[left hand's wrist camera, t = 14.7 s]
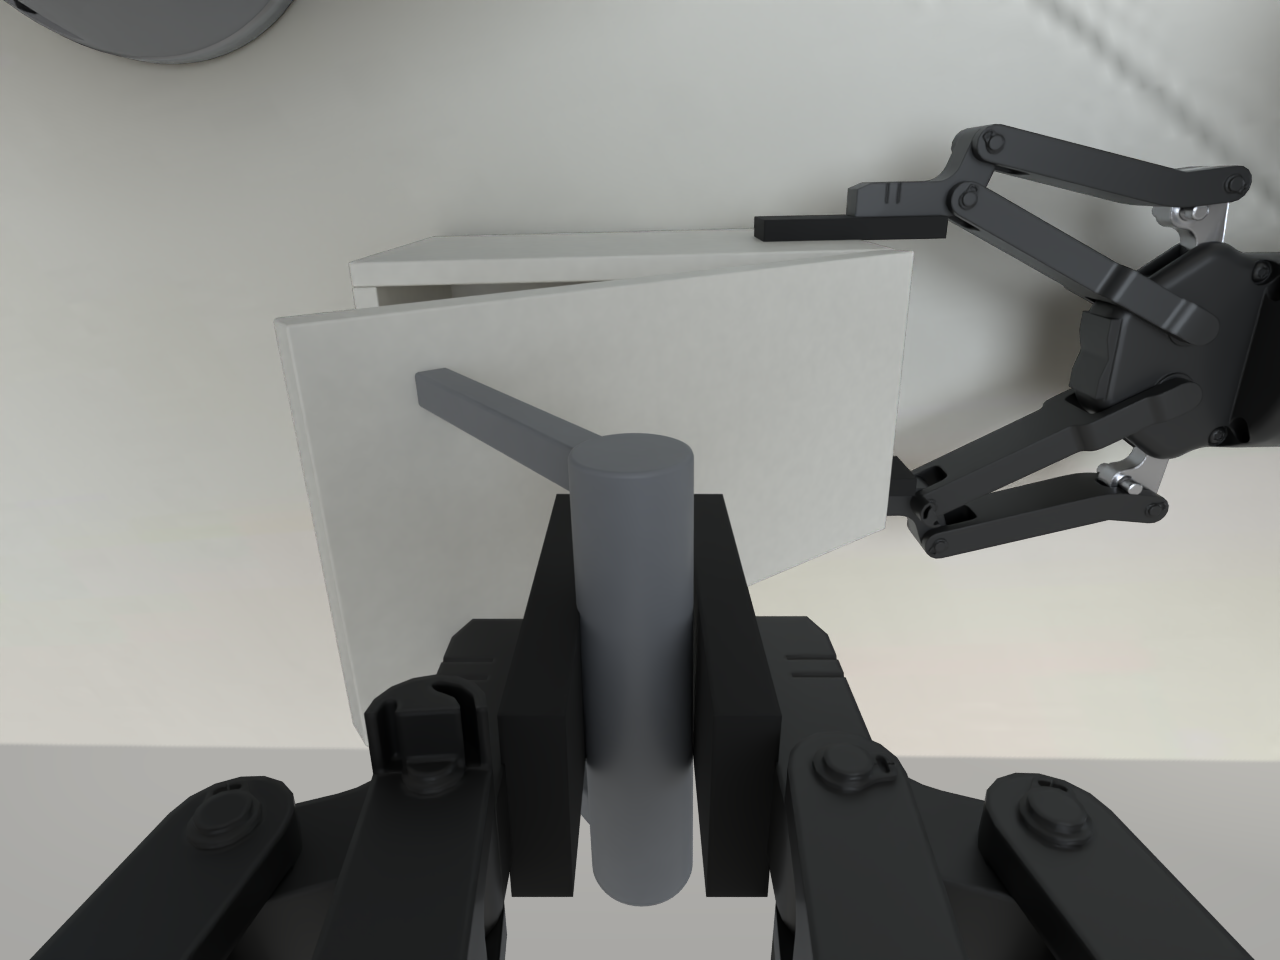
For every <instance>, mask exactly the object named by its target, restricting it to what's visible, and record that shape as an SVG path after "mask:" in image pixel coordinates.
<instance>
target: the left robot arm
mask: <svg viewBox="0 0 1280 960" xmlns="http://www.w3.org/2000/svg"><path fill="white" fill-rule="evenodd" d="M4 1H6V2H7V3H8V4H10V5H11V6H13V7H14V8H15V9H17V10H18V11H20V12H21V13H22V14H24V15H26V16H27V17H29V18H30V19H32V20H34V21H35V22H37V23H39V24H41V25H42V26H44V27H46V28H48V29H50V30H52V31H54V32H56V33H58V34H60V35H62V36H64V37H66V38H68V39H70V40H72V41H75V42H77V43H79V44H81V45H84V46H87V47H90V48H92V49H95V50H98V51H101V52H105V53H109V54H113V55H117V56H121V57H126V58H130V59H134V60H138V61H145V62H152V63H162V64H181V63H193V62H198V61H204V60H209V59H212V58H215V57H218V56H221V55H224V54H227V53H229V52H231V51H234V50H236V49H238V48H240V47H242V46H244V45H245V44H247V43H249V42H250V41H252V40H253V39H255V38H256V37H258V36H259V35H260V34H261V33H263V32H264V31H265V30H266V29H268V28H269V27H270V26H271V25H272V24H273V23H274V22H275V21H276V20H277V19H278V18H279V17H280V16H281V15H282V14H283V12H284V11H285V10H286V9H287V7H288V6H289V5H290V3H291V2H292V1H293V0H4ZM364 718H365V725H366V731H367V737H368V744H369V750H370V756H371V762H372V769H373V777H372V780H371V781H369V782H367V783H365V784H363V785H361V786H359V787H357V788H354V789H351V790H348V791H345V792H342V793H338V794H335V795H330V796H326V797H322V798H318V799H313V800H309V801H305V802H301V803H297V804H295V801H294V796H293V793H292V792H291V791H290V790H289V788H288V787H287V786H286V785H285V784H284V783H283V782H282V781H279V780H275V779H272V778H269V777H266V776H250V777H238V778H235V779H231V780H227V781H224V782H220V783H216V784H214V785H212V786H210V787H208V788H206V789H204V790H202V791H200V792H198V793H196V794H194V795H192V796H190V797H189V798H187V799H186V800H185V801H184V802H183V803H181V804H180V805H179V806H178V807H176V808H175V809H174V810H173V811H172V812H170V813H169V814H168V815H167V816H166V817H165V818H164V819H163V820H162V822H161V823H159V825H158V826H157V827H156V828H155V829H154V830H153V831H152V832H151V833H150V834H149V835H148V836H147V837H146V838H145V839H144V840H143V841H142V842H141V843H140V844H139V846H138V847H137V848H136V849H135V850H134V851H133V852H132V853H131V854H130V855H129V856H128V857H127V858H126V859H125V860H124V861H123V862H122V863H121V864H120V865H119V866H118V868H117V869H116V870H115V871H114V872H113V873H112V874H111V875H110V876H109V877H108V878H107V879H106V880H105V881H104V882H103V883H102V884H101V885H100V886H99V888H98V889H97V890H96V891H95V892H94V893H93V894H92V895H91V896H90V897H89V898H88V899H87V900H86V901H85V902H84V903H83V904H82V905H81V906H80V907H79V908H78V910H77V911H76V912H75V913H74V914H73V915H72V916H71V917H70V918H69V919H68V920H67V921H66V922H65V923H64V924H63V925H62V926H61V927H60V928H59V929H58V930H57V932H56V933H55V934H54V935H53V936H52V937H51V938H50V939H49V940H48V941H47V942H46V943H45V944H44V945H43V946H42V947H41V948H40V949H39V950H38V951H37V952H36V954H35V955H34V956H33V957H32V958H31V959H30V960H505V952H506V940H507V930H506V918H505V907H504V899H505V894H506V888H507V883H508V878H509V872H510V881H511V893H512V897H573V891H574V880H575V869H576V858H577V848H578V837H579V826H580V816H581V805H582V794H583V783H584V773H585V762H586V751H585V731H584V709H583V685H582V661H581V637H580V613H579V611H578V609H577V605H576V589H575V573H574V556H573V540H572V524H571V507H570V494H556V498H555V502H554V505H553V509H552V513H551V517H550V520H549V524H548V528H547V531H546V535H545V539H544V543H543V546H542V550H541V554H540V558H539V561H538V565H537V569H536V572H535V576H534V580H533V584H532V587H531V591H530V595H529V599H528V602H527V606H526V610H525V613H524V617H523V619H472V620H471V621H469V622H468V623H467V624H466V625H465V626H464V627H463V628H461V629H460V630H459V631H458V632H457V633H456V634H455V635H453V636H452V638H451V640H450V642H449V645H448V647H447V650H446V652H445V654H444V657H443V662H441V664H440V666H439V669H438V671H437V674H435V675H429V676H422V677H416V678H412V679H409V680H407V681H404V682H401V683H399V684H396V685H394V686H391V687H390V688H389V689H387V690H386V691H384V692H383V693H382V694H380V695H379V696H377V697H376V698H375V699H374V700H373V701H372V703H371V704H370V705H369V707H368V708H367V710H366V711H365V713H364ZM693 759H694V770H695V780H696V791H697V802H698V813H699V824H700V834H701V845H702V856H703V867H704V877H705V888H706V897H767V896H768V884H769V871H770V873H771V878H772V883H773V889H774V894H775V899H776V907H775V918H774V930H773V941H772V953H771V960H1254V959H1253V958H1252V957H1251V956H1250V955H1249V954H1248V952H1247V951H1246V950H1245V949H1244V948H1243V947H1242V946H1241V945H1240V944H1239V943H1238V942H1237V941H1236V940H1235V939H1234V938H1233V937H1232V936H1231V935H1230V934H1229V933H1228V932H1227V931H1226V930H1225V929H1224V927H1223V926H1222V925H1221V924H1220V923H1219V922H1218V921H1217V920H1216V919H1215V918H1214V917H1213V916H1212V915H1211V914H1210V913H1209V912H1208V911H1207V910H1206V909H1205V908H1204V907H1203V906H1202V905H1201V903H1199V901H1198V900H1197V899H1196V898H1195V897H1194V896H1193V895H1192V894H1191V893H1190V892H1189V891H1188V890H1187V889H1186V888H1185V887H1184V886H1183V885H1182V884H1181V883H1180V882H1179V881H1178V880H1177V878H1176V877H1175V876H1174V875H1173V874H1172V873H1171V872H1170V871H1169V870H1168V869H1167V868H1166V867H1165V866H1164V865H1163V864H1162V863H1161V862H1160V861H1159V860H1158V859H1157V858H1156V857H1155V856H1154V855H1153V853H1152V852H1151V851H1150V850H1149V849H1148V848H1147V847H1146V846H1145V845H1144V844H1143V843H1142V842H1141V841H1140V840H1139V839H1138V838H1137V837H1136V836H1135V835H1134V834H1133V833H1132V832H1131V831H1130V830H1129V829H1128V827H1127V826H1126V825H1125V824H1124V823H1123V822H1122V821H1121V820H1120V819H1119V818H1118V817H1117V816H1116V815H1115V814H1114V813H1113V812H1112V811H1111V810H1110V809H1109V808H1108V807H1106V806H1105V805H1104V804H1103V803H1101V802H1100V801H1099V800H1098V799H1096V798H1095V797H1094V796H1093V795H1092V794H1090V793H1088V792H1086V791H1085V790H1082V789H1080V788H1079V787H1076V786H1075V785H1073V784H1071V783H1069V782H1067V781H1065V780H1061V779H1057V778H1053V777H1050V776H1046V775H1042V774H1037V773H1013V774H1010V775H1007V776H1004V777H1001V778H998V779H996V781H995V782H994V783H993V784H992V785H991V786H990V787H989V788H988V789H987V792H986V797H985V801H983V800H979V799H975V798H970V797H966V796H962V795H958V794H953V793H949V792H945V791H941V790H938V789H935V788H932V787H928V786H925V785H922V784H920V783H918V782H916V781H914V780H912V779H910V778H908V776H907V773H906V771H905V770H904V768H903V767H902V765H901V763H900V761H899V760H898V758H897V757H896V756H895V755H893V754H892V753H891V752H890V751H888V750H887V749H886V748H885V747H883V746H882V745H881V744H879V743H877V742H874V741H872V739H871V737H870V735H869V732H868V730H867V727H866V725H865V723H864V720H863V718H862V715H861V713H860V711H859V708H858V706H857V704H856V701H855V699H854V696H853V694H852V692H851V689H850V687H849V684H848V682H847V680H846V677H844V672H843V670H842V668H841V665H840V663H839V660H837V658H836V653H835V651H834V648H833V646H832V644H831V641H830V639H829V637H828V634H827V633H825V632H824V631H823V630H822V629H821V628H820V627H818V626H817V625H816V624H815V623H814V622H813V621H812V620H810V619H809V618H808V617H807V616H755V613H754V609H753V605H752V601H751V598H750V594H749V590H748V587H747V583H746V579H745V575H744V572H743V568H742V564H741V560H740V557H739V553H738V549H737V545H736V542H735V538H734V534H733V531H732V527H731V523H730V519H729V516H728V512H727V508H726V504H725V501H724V497H723V494H694V595H693Z"/></svg>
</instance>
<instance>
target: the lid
mask: <svg viewBox="0 0 1280 960" xmlns="http://www.w3.org/2000/svg"><path fill="white" fill-rule="evenodd" d="M913 259H914V252H913V251H904V250H889V249H887V250H878V251H869V252H860V253H851V254H842V255H833V256H824V257H815V258H806V259H798V260H789V261H780V262H771V263H762V264H753V265H744V266H735V267H726V268H717V269H708V270H700V271H691V272H682V273H673V274H664V275H655V276H646V277H637V278H628V279H619V280H610V281H602V282H593V283H584V284H575V285H566V286H557V287H548V288H539V289H530V290H521V291H512V292H504V293H495V294H486V295H477V296H468V297H459V298H450V299H441V300H432V301H423V302H414V303H406V304H397V305H388V306H379V307H370V308H361V309H352V310H343V311H334V312H325V313H316V314H308V315H299V316H290V317H281V318H276V319H274V327H275V332H276V337H277V342H278V347H279V352H280V357H281V362H282V368H283V373H284V378H285V383H286V388H287V393H288V398H289V403H290V408H291V413H292V418H293V423H294V428H295V433H296V438H297V443H298V448H299V453H300V458H301V463H302V469H303V474H304V479H305V484H306V489H307V494H308V499H309V504H310V509H311V514H312V519H313V524H314V529H315V534H316V539H317V544H318V549H319V554H320V559H321V565H322V570H323V575H324V580H325V585H326V590H327V595H328V600H329V605H330V610H331V615H332V620H333V625H334V630H335V635H336V640H337V645H338V650H339V655H340V661H341V666H342V671H343V676H344V681H345V686H346V691H347V696H348V701H349V706H350V711H351V716H352V721H353V725H354V726H355V728H356V730H357V731H358V733H359V735H360V737H361V738H362V740H363V742H364V743H365V745H366V746H367V747H369V744H368V737H367V731H366V725H365V718H364V713H365V711H366V710H367V708H368V707H369V705H370V704H371V703H372V701H373V700H374V699H375V698H376V697H377V696H379V695H380V694H382V693H383V692H384V691H386V690H387V689H389V688H390V687H391V686H394V685H396V684H399V683H401V682H404V681H407V680H409V679H412V678H416V677H422V676H429V675H435V674H437V671H438V669H439V666H440V664H441V662H443V657H444V654H445V652H446V650H447V647H448V645H449V642H450V640H451V638H452V636H453V635H455V634H456V633H457V632H458V631H459V630H460V629H461V628H463V627H464V626H465V625H466V624H467V623H468V622H469V621H471V620H472V619H523V617H524V613H525V610H526V606H527V602H528V599H529V595H530V591H531V587H532V584H533V580H534V576H535V572H536V569H537V565H538V561H539V558H540V554H541V550H542V546H543V543H544V539H545V535H546V531H547V528H548V524H549V520H550V517H551V513H552V509H553V505H554V502H555V498H556V494H570V507H571V524H572V540H573V556H574V573H575V589H576V605H577V609H578V611H579V613H580V637H581V661H582V685H583V709H584V731H585V751H586V762H585V773H584V783H583V794H582V805H581V815H582V816H583V817H584V819H585V820H586V821H587V822H588V823H589V824H590V834H591V850H592V866H593V872H594V876H595V878H596V880H597V882H598V884H599V885H600V887H601V888H602V889H603V890H604V891H605V893H607V894H608V895H609V896H610V897H612V898H613V899H615V900H617V901H619V902H621V903H624V904H627V905H632V906H651V905H656V904H659V903H662V902H665V901H667V900H669V899H670V898H672V897H674V896H675V895H676V894H677V893H679V892H680V890H682V888H683V887H684V886H685V884H686V883H687V881H688V879H689V877H690V874H691V871H692V863H693V595H694V494H723V497H724V501H725V504H726V508H727V512H728V516H729V519H730V523H731V527H732V531H733V534H734V538H735V542H736V545H737V549H738V553H739V557H740V560H741V564H742V568H743V572H744V575H745V579H746V583H747V587H748V586H750V585H752V584H755V583H757V582H760V581H762V580H764V579H767V578H769V577H771V576H774V575H776V574H778V573H781V572H783V571H786V570H788V569H790V568H793V567H795V566H797V565H800V564H802V563H804V562H807V561H809V560H812V559H814V558H816V557H819V556H821V555H823V554H826V553H828V552H830V551H833V550H835V549H838V548H840V547H842V546H845V545H847V544H849V543H852V542H854V541H857V540H859V539H861V538H864V537H866V536H868V535H871V534H873V533H875V532H878V531H880V530H883V529H885V525H886V516H887V506H888V497H889V487H890V478H891V468H892V459H893V449H894V440H895V430H896V421H897V411H898V402H899V392H900V383H901V373H902V364H903V354H904V345H905V335H906V326H907V316H908V307H909V297H910V288H911V278H912V269H913Z"/></svg>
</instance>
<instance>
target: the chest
mask: <svg viewBox="0 0 1280 960" xmlns="http://www.w3.org/2000/svg"><path fill="white" fill-rule="evenodd" d="M887 249H889V250H894V249H892V248H889V247H885V246H881V245H878V244H874V243H870V242H867V241H863V240H825V241H781V242H763V241H761V240H759V239H758V238H756V237H754V229H715V230H674V231H634V232H593V233H553V234H513V235H472V236H434V237H430V238H427V239H424V240H421V241H417V242H414V243H411V244H407V245H404V246H401V247H398V248H394V249H391V250H388V251H384V252H381V253H378V254H375V255H371V256H368V257H365V258H362V259H358V260H355V261H352V262H349V270H350V276H351V283H352V286H353V287H354V288H353V289H352V290H353V297H354V303H355V309H361V308H370V307H379V306H388V305H397V304H406V303H414V302H423V301H432V300H441V299H450V298H459V297H468V296H477V295H486V294H495V293H504V292H512V291H521V290H530V289H539V288H548V287H557V286H566V285H575V284H584V283H593V282H602V281H610V280H619V279H628V278H637V277H646V276H655V275H664V274H673V273H682V272H691V271H700V270H708V269H717V268H726V267H735V266H744V265H753V264H762V263H771V262H780V261H789V260H798V259H806V258H815V257H824V256H833V255H842V254H851V253H860V252H869V251H878V250H887Z"/></svg>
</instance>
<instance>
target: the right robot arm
mask: <svg viewBox="0 0 1280 960" xmlns="http://www.w3.org/2000/svg"><path fill="white" fill-rule="evenodd" d="M951 150H952V154H951V156H950V158H949V161H948V163H947V165H946V167H945V169H944V170H943V171H942V173H941V174H940V175H939V176H937V177H936V178H934V179H932V180H928V181H907V182H862V183H859V184H857V185H855V186H853V187H850V188H848V195H847V209H846V215H805V216H758V217H754V237H756V238H758V239H759V240H761V241H763V242H781V241H825V240H889V239H938V238H946V233H947V225H948V220H949V221H951V222H952V223H954V224H956V225H958V226H959V227H961V228H963V229H965V230H967V231H968V232H970V233H972V234H974V235H975V236H977V237H979V238H981V239H982V240H984V241H986V242H988V243H990V244H991V245H993V246H995V247H997V248H998V249H1000V250H1002V251H1004V252H1005V253H1007V254H1009V255H1011V256H1013V257H1014V258H1016V259H1018V260H1020V261H1021V262H1023V263H1025V264H1027V265H1028V266H1030V267H1032V268H1034V269H1036V270H1037V271H1039V272H1041V273H1043V274H1044V275H1046V276H1048V277H1050V278H1051V279H1053V280H1055V281H1057V282H1059V283H1060V284H1062V285H1063V286H1064V287H1065V288H1066V289H1068V290H1069V291H1071V292H1073V293H1075V294H1076V295H1078V296H1080V297H1082V298H1083V299H1085V300H1087V301H1089V302H1091V303H1092V304H1093V305H1092V307H1091V309H1090V311H1083V314H1082V319H1081V325H1080V342H1081V350H1080V353H1079V355H1078V357H1077V359H1076V361H1075V364H1074V366H1073V368H1072V372H1071V378H1070V383H1069V387H1071V389H1069V390H1067V391H1065V392H1063V393H1061V394H1059V395H1057V396H1055V397H1053V398H1050V399H1049V400H1047V401H1046V402H1045V403H1044V404H1043V407H1042V408H1041V409H1040V410H1038V411H1036V412H1034V413H1032V414H1029V415H1027V416H1025V417H1023V418H1021V419H1019V420H1017V421H1015V422H1013V423H1011V424H1009V425H1006V426H1004V427H1002V428H1000V429H998V430H996V431H994V432H992V433H990V434H988V435H986V436H983V437H981V438H979V439H977V440H975V441H973V442H971V443H969V444H967V445H965V446H962V447H960V448H958V449H956V450H954V451H952V452H950V453H948V454H946V455H944V456H942V457H939V458H937V459H935V460H933V461H931V462H929V463H927V464H925V465H923V466H921V467H919V468H916V469H914V470H912V471H910V470H909V469H908V468H907V467H906V466H905V465H904V464H903V463H902V461H901V460H900V459H899V458H898V457H897V456H893V459H892V468H891V478H890V487H889V497H888V506H887V516H906V517H907V519H908V520H907V526H908V528H909V530H910V532H911V533H912V534H913V536H914V537H915V538H916V540H917V541H918V542H919V544H920V545H921V546H922V548H923V549H924V550H925V552H926V553H927V554H928V555H929V556H930V557H933V558H944V557H949V556H953V555H957V554H962V553H966V552H971V551H975V550H979V549H984V548H988V547H992V546H997V545H1001V544H1006V543H1010V542H1014V541H1019V540H1023V539H1027V538H1032V537H1036V536H1041V535H1045V534H1049V533H1054V532H1058V531H1062V530H1067V529H1071V528H1076V527H1080V526H1084V525H1089V524H1093V523H1098V522H1102V521H1106V520H1116V521H1129V522H1141V523H1155V522H1157V521H1159V520H1161V519H1162V518H1163V517H1164V516H1165V515H1166V513H1167V512H1168V507H1169V505H1168V502H1167V501H1166V500H1165V499H1164V498H1163V497H1161V496H1160V495H1158V494H1157V491H1158V488H1159V486H1160V483H1161V480H1162V477H1163V474H1164V472H1165V469H1166V466H1167V463H1168V460H1169V459H1172V458H1176V457H1179V456H1181V455H1183V454H1185V453H1187V452H1189V451H1192V450H1195V449H1198V448H1202V447H1280V252H1252V253H1242V252H1240V251H1238V250H1236V249H1235V248H1233V247H1232V246H1230V245H1229V244H1226V243H1223V241H1224V234H1225V227H1226V221H1227V214H1228V207H1229V202H1233V201H1237V200H1239V199H1240V198H1242V197H1243V196H1244V195H1245V194H1246V193H1247V191H1248V190H1249V188H1250V185H1251V183H1252V175H1251V173H1250V171H1249V169H1247V168H1245V167H1244V166H1199V167H1185V168H1177V169H1173V168H1169V167H1165V166H1161V165H1157V164H1153V163H1149V162H1146V161H1142V160H1138V159H1134V158H1130V157H1126V156H1122V155H1118V154H1115V153H1111V152H1107V151H1103V150H1099V149H1095V148H1091V147H1087V146H1083V145H1080V144H1076V143H1072V142H1068V141H1064V140H1060V139H1056V138H1052V137H1049V136H1045V135H1041V134H1037V133H1033V132H1029V131H1025V130H1021V129H1018V128H1014V127H1010V126H1006V125H1002V124H992V125H986V126H980V127H973V128H967V129H965V130H962V131H960V132H959V133H958V134H957V135H956V136H955V138H954V140H953V142H952V147H951ZM994 171H996V172H1000V173H1004V174H1007V175H1011V176H1015V177H1019V178H1023V179H1027V180H1031V181H1035V182H1039V183H1043V184H1047V185H1051V186H1055V187H1059V188H1063V189H1067V190H1071V191H1075V192H1079V193H1083V194H1087V195H1091V196H1094V197H1098V198H1102V199H1106V200H1110V201H1114V202H1118V203H1123V204H1129V205H1142V206H1153V208H1152V214H1153V216H1154V217H1155V218H1156V221H1157V222H1158V223H1159V224H1160V225H1162V226H1164V227H1170V228H1173V229H1175V230H1176V231H1177V232H1178V233H1179V235H1180V243H1179V244H1177V245H1175V246H1173V247H1172V248H1170V249H1169V250H1167V251H1166V252H1164V253H1163V254H1161V255H1160V256H1158V257H1157V258H1155V259H1154V260H1152V261H1151V262H1149V263H1148V264H1146V265H1144V266H1143V267H1141V268H1140V269H1138V270H1137V271H1135V270H1133V269H1131V268H1128V267H1125V266H1123V265H1120V264H1118V263H1116V262H1114V261H1113V260H1111V259H1109V258H1107V257H1106V256H1104V255H1102V254H1100V253H1099V252H1097V251H1095V250H1094V249H1092V248H1090V247H1088V246H1087V245H1085V244H1083V243H1081V242H1080V241H1078V240H1076V239H1075V238H1073V237H1071V236H1069V235H1068V234H1066V233H1064V232H1062V231H1061V230H1059V229H1057V228H1055V227H1054V226H1052V225H1050V224H1049V223H1047V222H1045V221H1043V220H1042V219H1040V218H1038V217H1036V216H1035V215H1033V214H1031V213H1030V212H1028V211H1026V210H1024V209H1023V208H1021V207H1019V206H1017V205H1016V204H1014V203H1012V202H1011V201H1009V200H1007V199H1005V198H1004V197H1002V196H1000V195H998V194H997V193H995V192H993V191H992V190H990V189H988V188H986V186H987V184H988V182H989V180H990V178H991V176H992V174H993V172H994ZM1121 439H1123V440H1125V441H1126V442H1127V443H1128V444H1130V445H1131V446H1132V447H1133V450H1132V452H1131V453H1130V455H1129V456H1128V457H1127V458H1125V459H1124V460H1121V461H1118V462H1112V463H1109V464H1108V463H1102V464H1100V465H1099V466H1098V468H1097V473H1076V474H1070V475H1065V476H1061V477H1057V478H1052V479H1048V480H1044V481H1040V482H1035V483H1031V484H1027V485H1023V486H1018V487H1014V488H1010V489H1006V490H1001V491H997V492H993V491H995V490H997V489H999V488H1002V487H1004V486H1006V485H1008V484H1010V483H1012V482H1014V481H1017V480H1019V479H1021V478H1023V477H1025V476H1027V475H1030V474H1032V473H1034V472H1036V471H1038V470H1040V469H1043V468H1045V467H1047V466H1049V465H1051V464H1053V463H1056V462H1058V461H1060V460H1062V459H1064V458H1066V457H1068V456H1071V455H1073V454H1075V453H1077V452H1080V451H1095V450H1099V449H1102V448H1104V447H1106V446H1108V445H1110V444H1113V443H1115V442H1117V441H1119V440H1121ZM991 492H993V493H991Z"/></svg>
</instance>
